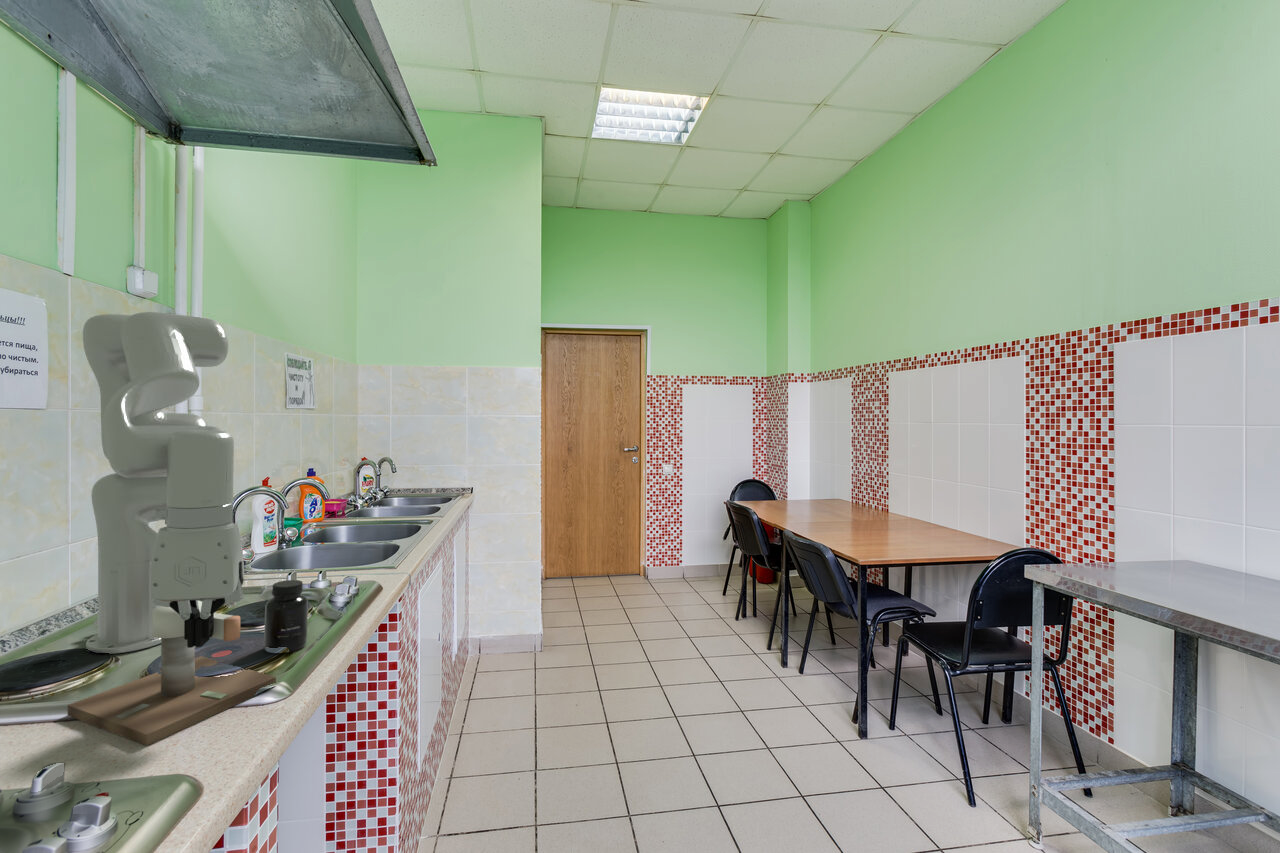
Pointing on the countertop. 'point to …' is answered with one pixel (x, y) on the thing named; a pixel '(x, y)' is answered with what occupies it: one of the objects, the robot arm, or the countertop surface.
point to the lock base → (167, 697)
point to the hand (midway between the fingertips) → (198, 643)
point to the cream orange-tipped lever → (173, 626)
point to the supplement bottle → (286, 616)
